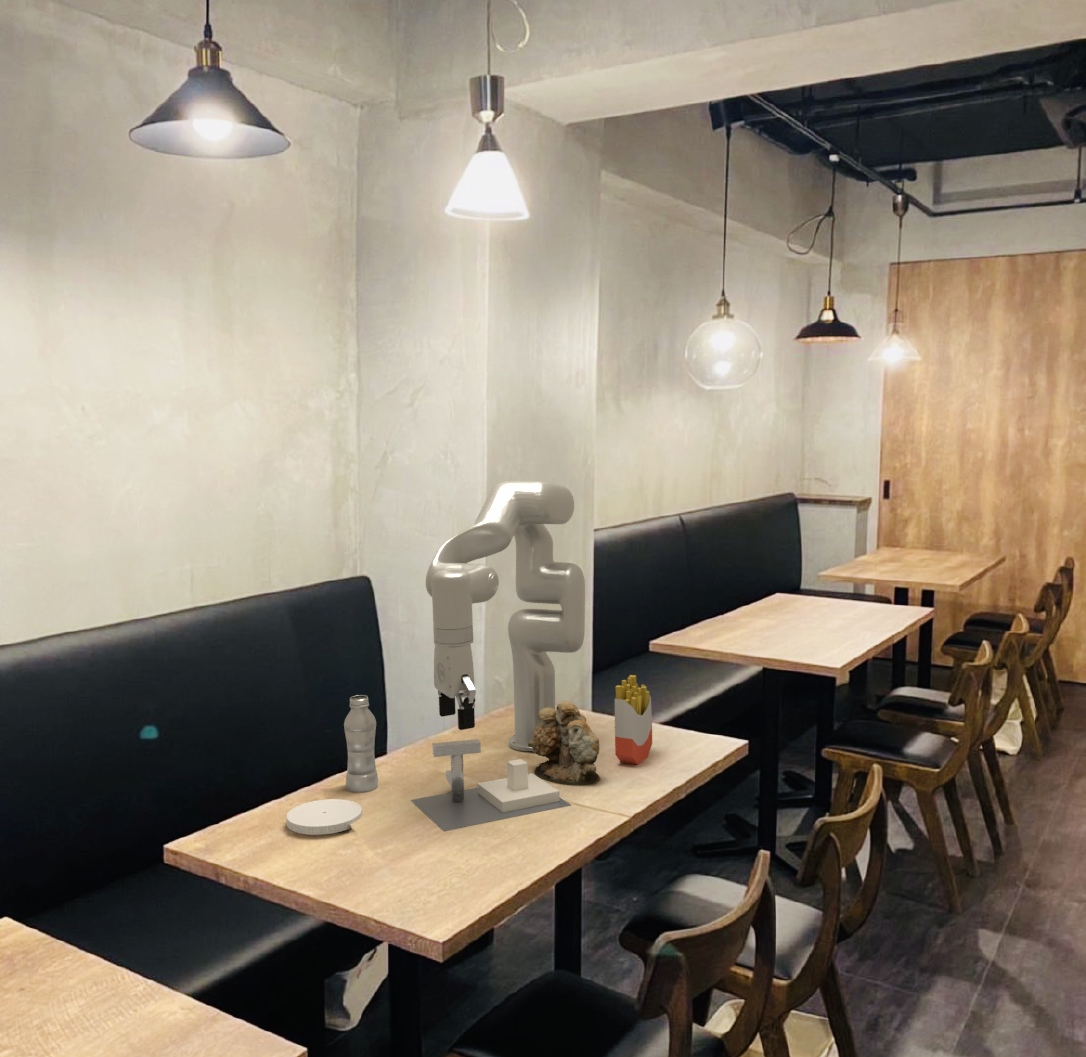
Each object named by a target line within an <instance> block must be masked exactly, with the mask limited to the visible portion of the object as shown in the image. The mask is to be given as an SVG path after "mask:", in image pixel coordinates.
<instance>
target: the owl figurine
mask: <svg viewBox="0 0 1086 1057" xmlns="http://www.w3.org/2000/svg"><path fill="white" fill-rule="evenodd" d="M538 717H539V718H538V720H539V724H538V726H537V727H536V731H535V732H534V735H533V739H534V740H533V741H530V742H528V746H529V747H532V748H533V751H534V752H533V753H534V754H536V755H537V756H542V757H545V758H547V759H546V761H543V762H540V763H539V764H538V766H537V767H536V768H535V769H534V772H533V774H534V775H536V776H537V777H539V778H540V779H542V780H543V781H545V782H548V783H552V784H556V785H561V786H562V785H563V786H569V787H570V786H572V787H578V786H579V787H582V786H583V787H585V786H592V785H596V784H598V783H599V782H601V777H600V775H599V774H598V773H597V766H596V765H595V764H596V762H597V759H598V755H599V754H600V738H599V737H598V735H597V734H596V733H594V732H593V730H592V728H591V727H590V725H589V724H588V723H587V717H586V716H585V715H584V714H583V713H581V711H580V710H579V708H578V706H577V705H576V704H574V702H572V701H569V700H564V701H561V702H559V703H558V704H557V705H556V707H555V710H554V709H553V708H544V709H541V710H540V711H539V714H538ZM594 763H595V764H594Z"/></svg>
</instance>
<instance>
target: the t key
mask: <svg viewBox="0 0 1086 1057" xmlns="http://www.w3.org/2000/svg"><path fill="white" fill-rule="evenodd" d="M481 744H482V742H481V741H480V740H479V739H478V738H475V739H465V740H455V741H454V740H453V741H445V742H435V743H434V742H433V743H432V744H431V745H432V746H431V747H432V749H431V750H432V755H433V757H434V758H441V757H442V758H443V757H450V770H445V778H446V780H447V781H448V784H449V787H450V788H451V792H452V800H453V801H463V800H464V790H465V785H464V784H465V778H464V777H465V776H464V775H465V774H464V755H471V754H481V751H482V750H481V749H482V747H481V746H482V745H481Z"/></svg>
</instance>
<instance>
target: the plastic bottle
mask: <svg viewBox="0 0 1086 1057" xmlns="http://www.w3.org/2000/svg"><path fill="white" fill-rule="evenodd" d="M368 696H369V695H366V694H365V695H364V694H359V695H358V694H357V695H354V696H353V695H352V696H351V697H350V698H349V709H350V711H349V712H348V714H347V715H346V717H345V719H344V723H343V726H344V728H343V729H344V734H345V739H346V749H347V770H346V776H345V788H346V790H347V791H348V792H350V793H355V794H356V793H367V792H371V791H374V790H376V789H377V788H378V786H379V785H378V784H379V778H378V776H379V775H378V771H377V766H376V757H375V741H376V740H375V739H376V738H375V737H376V731H377V730H376V729H377V728H376V727H377V721H376V720H377V719H376V718H375V715H374V714H373V713H372V711H371V710H370V709H369V706H370V703H369V697H368Z"/></svg>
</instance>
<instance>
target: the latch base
mask: <svg viewBox="0 0 1086 1057" xmlns="http://www.w3.org/2000/svg"><path fill="white" fill-rule="evenodd" d="M559 798H560V801H558V802H553V803H548V804H543V805H538V806H533V807H528V808H523V809H518V810H513V811H508V812H501V811H500V810H499V809H498V808H496V807H495V806H494V805H492V804H491V803H490V802H489V801H487V800H486V799H485V798H483V797H482V796H481V795H480V794H478V786H477V787H473V788H468V789H467V788H466V789H464V800H463V801H453V800H452V791H451V792H446V793H445V792H444V793H440V794H435V795H431V796H426V797H419V798H413V799H410V801H411V803H412V804H414V806H415V807H417V808H418V809H419V810H421V812H422V813H423V814H424V815H425V816H426V817H428V818H429V819H430V820H431V821H432V822H433V823H434V824H436V825H437V826H438V828H439V829H440V830H442V831H443V832H448V831H453V830H457V829H464V828H468V827H473V826H478V825H483V824H487V823H493V822H496V821H501V820H506V819H511V818H516V817H517V818H518V817H521V816H527V815H530V814H536V813H540V812H541V813H542V812H547V811H552V810H555V809H560V808H565V807H572V805H571V803H569V802H567V801H566V800H565V799H564V798H561V797H560V796H559Z"/></svg>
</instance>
